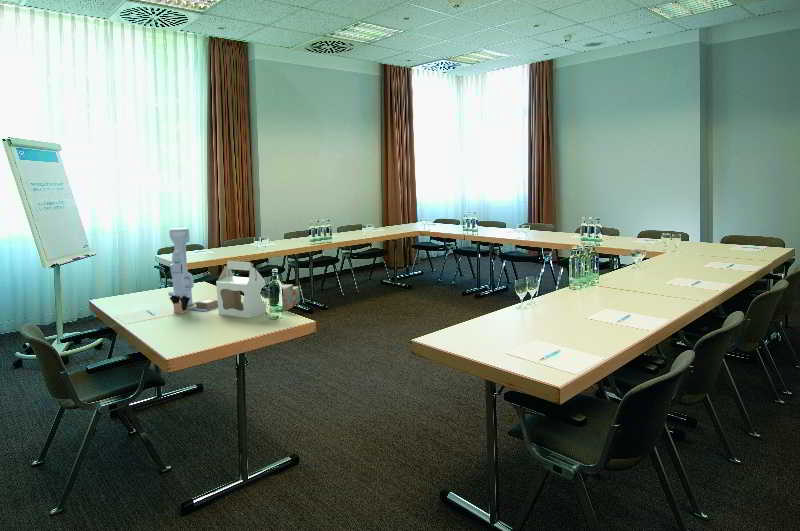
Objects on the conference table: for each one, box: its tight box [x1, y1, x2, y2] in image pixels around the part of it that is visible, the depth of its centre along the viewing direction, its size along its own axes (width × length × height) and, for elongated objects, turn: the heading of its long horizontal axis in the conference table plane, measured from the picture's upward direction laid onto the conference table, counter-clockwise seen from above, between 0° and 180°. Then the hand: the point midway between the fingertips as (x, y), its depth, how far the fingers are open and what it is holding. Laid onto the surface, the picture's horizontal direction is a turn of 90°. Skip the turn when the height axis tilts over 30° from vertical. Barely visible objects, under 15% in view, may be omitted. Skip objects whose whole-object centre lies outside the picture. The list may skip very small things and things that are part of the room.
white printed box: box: [281, 283, 301, 312], centre depth 298 cm, size 21×6×12 cm, turn 169°
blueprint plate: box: [188, 298, 218, 313], centre depth 300 cm, size 12×16×4 cm
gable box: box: [216, 260, 267, 319], centre depth 283 cm, size 22×13×28 cm, turn 63°
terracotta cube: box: [172, 302, 189, 314], centre depth 290 cm, size 5×5×5 cm
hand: (181, 309), depth 291 cm, fingers closed on terracotta cube, 5 cm apart
